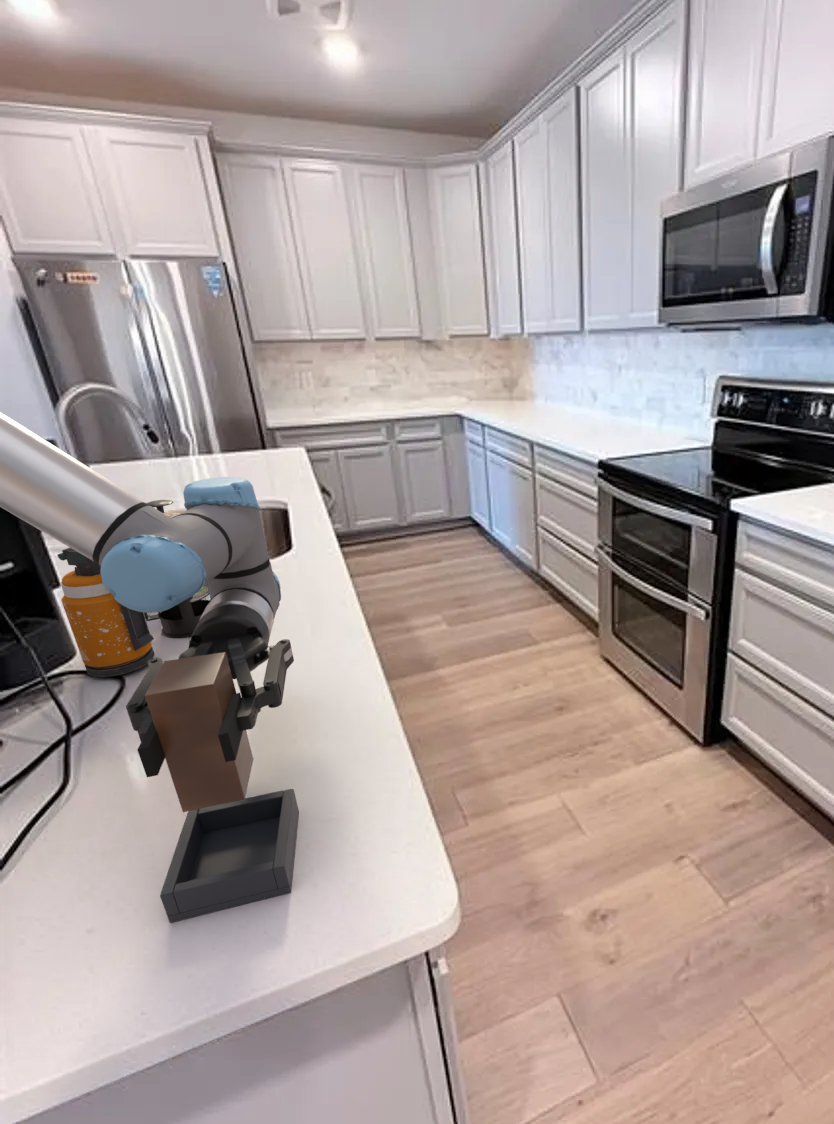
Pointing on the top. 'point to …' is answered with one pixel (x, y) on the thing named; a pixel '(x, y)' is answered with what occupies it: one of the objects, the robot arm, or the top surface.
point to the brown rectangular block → (198, 730)
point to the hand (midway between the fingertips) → (188, 754)
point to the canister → (102, 621)
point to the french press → (180, 605)
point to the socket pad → (232, 855)
